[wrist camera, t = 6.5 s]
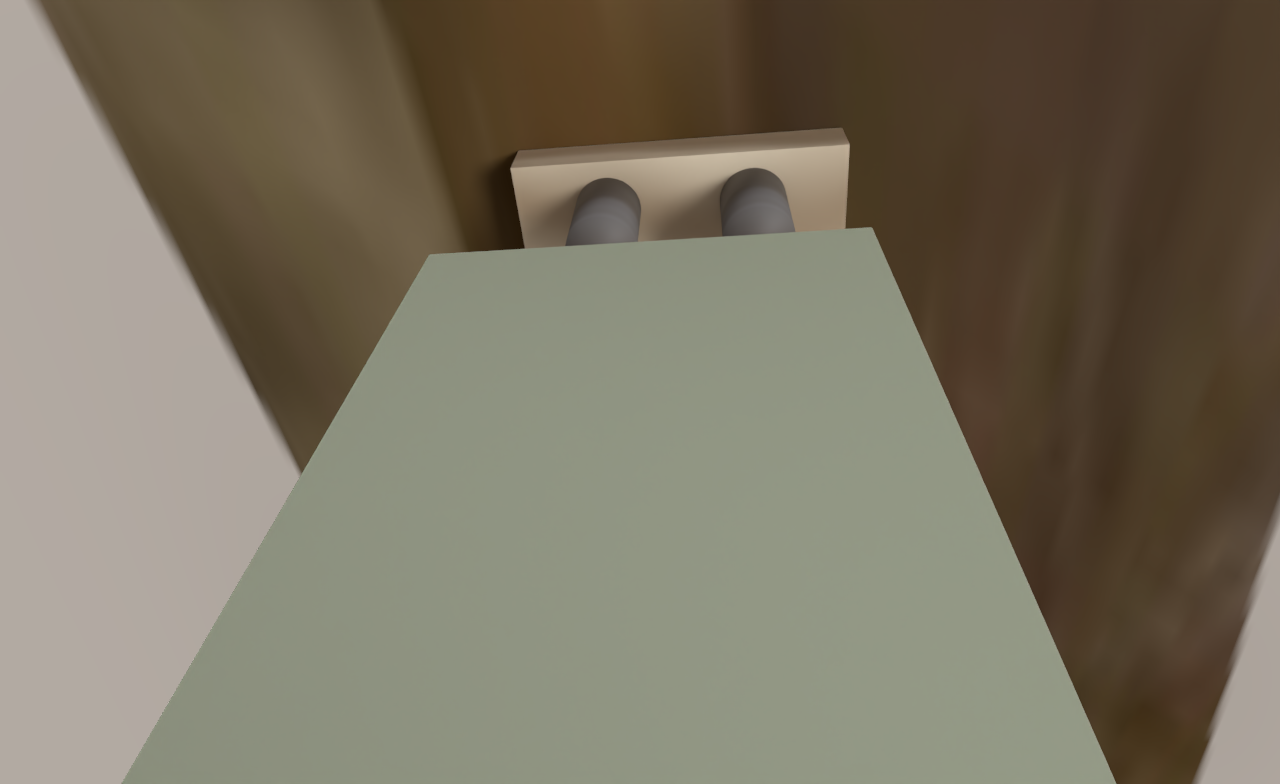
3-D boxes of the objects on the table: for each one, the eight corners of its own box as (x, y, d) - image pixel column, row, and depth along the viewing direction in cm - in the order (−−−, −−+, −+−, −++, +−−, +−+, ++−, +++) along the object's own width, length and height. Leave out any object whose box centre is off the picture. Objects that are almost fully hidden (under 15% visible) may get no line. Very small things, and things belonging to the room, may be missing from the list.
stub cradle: (518, 150, 27) (492, 206, 23) (842, 127, 26) (866, 182, 23) (581, 515, 36) (569, 596, 32) (824, 507, 35) (839, 589, 32)
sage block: (429, 253, 10) (66, 878, 4) (871, 227, 9) (1160, 882, 4) (545, 730, 15) (453, 1317, 9) (838, 727, 14) (937, 1340, 9)
